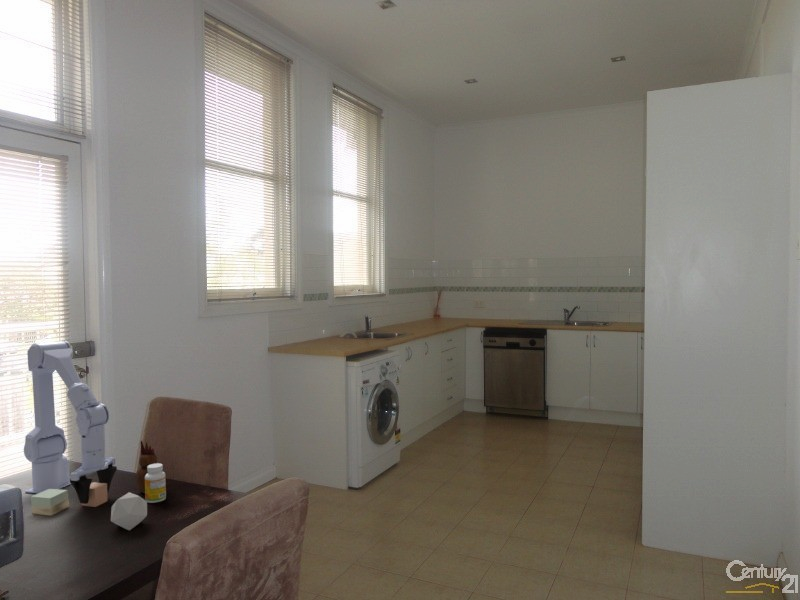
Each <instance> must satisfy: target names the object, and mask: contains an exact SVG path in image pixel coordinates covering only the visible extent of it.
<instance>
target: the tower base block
mask: <svg viewBox="0 0 800 600" xmlns="http://www.w3.org/2000/svg"><path fill="white" fill-rule="evenodd" d="M69 501H70V499H69V498H68V499H67V500H65V501H63V502H61V503H59V504H57V505H55V506H53V507H51V508H49V507H38V506H31V511H32V512H31V513H32V514H33V515H45V516H53V515H56V514H57V513H59V512H61V511H63V510H66V509H68V508H69V507H70V502H69Z"/></svg>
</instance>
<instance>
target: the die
mask: <svg viewBox="0 0 800 600" xmlns="http://www.w3.org/2000/svg"><path fill="white" fill-rule="evenodd" d="M110 509H111V510H110V512H111V513H110V522H112V523H113V524H115V525H117V526H119V527H121V528H122V529H124V530H127V531H129V532H130V531H131V530H132V529H134V528H135V527H136V526H137V525H139V524H140V523H141V522H143V520H145V518H146V517H147V516H148V502H147V501H146V500H145V498H142V497H141V496H140V495H137V494H135V493H132V492H129V491H128V492H127V493H126V494H124V495H122V496H121V497H119V498H117V499H116V500H115V502H114V503H113V504H112V505H111V508H110Z"/></svg>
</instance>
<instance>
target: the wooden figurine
mask: <svg viewBox="0 0 800 600" xmlns="http://www.w3.org/2000/svg"><path fill="white" fill-rule="evenodd" d="M157 458H158V457H157V454H156V453H155V449H154V447H151V445H149V444H148V442H145V446H144V443H143V440H140V456H139V458H138V459H139V460H138V461H139V462H138V463H139V467H138V469H137V470H136V473H135V476H136V477H135V483H136V486H137V490H138V491H139V492H140V493H142V494H145V475H146V474H147V473H148V472H147V466H148V465H151V464H156V463H158V459H157Z"/></svg>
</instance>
